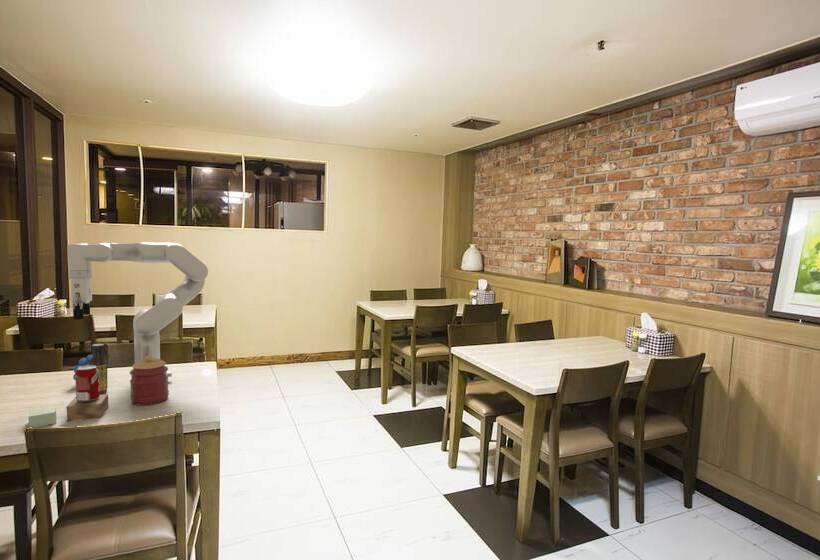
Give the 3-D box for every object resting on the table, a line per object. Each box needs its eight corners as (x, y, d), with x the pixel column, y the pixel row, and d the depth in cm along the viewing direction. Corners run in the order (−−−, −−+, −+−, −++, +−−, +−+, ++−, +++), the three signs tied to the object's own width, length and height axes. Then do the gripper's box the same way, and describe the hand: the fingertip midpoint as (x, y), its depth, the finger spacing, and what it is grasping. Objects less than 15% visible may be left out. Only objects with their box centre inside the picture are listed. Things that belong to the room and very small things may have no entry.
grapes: (96, 377, 202) (95, 351, 201) (105, 379, 200) (104, 353, 198) (67, 385, 192) (66, 357, 191) (77, 387, 189) (76, 359, 188)
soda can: (87, 404, 158) (86, 370, 157) (71, 402, 159) (69, 368, 158) (104, 397, 165) (103, 365, 164) (88, 395, 166) (87, 363, 165)
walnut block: (108, 407, 169) (107, 394, 168) (101, 417, 160) (101, 403, 159) (76, 410, 165) (75, 396, 165) (67, 420, 156) (66, 406, 155)
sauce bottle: (93, 397, 178) (91, 347, 177) (85, 394, 182) (83, 345, 180) (111, 392, 184) (109, 344, 182) (103, 389, 187) (102, 342, 185)
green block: (56, 416, 159) (55, 405, 159) (56, 423, 154) (55, 412, 153) (30, 421, 155) (29, 409, 155) (29, 428, 149) (28, 416, 149)
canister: (128, 398, 179) (127, 354, 177) (165, 391, 186) (164, 349, 185) (132, 408, 168) (131, 361, 167) (171, 401, 176) (170, 356, 175)
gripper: (85, 276, 175) (87, 320, 177) (96, 272, 191) (98, 313, 193) (61, 276, 172) (63, 321, 174) (75, 272, 188) (77, 313, 190)
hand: (82, 316), depth 183 cm, fingers open, 9 cm apart
